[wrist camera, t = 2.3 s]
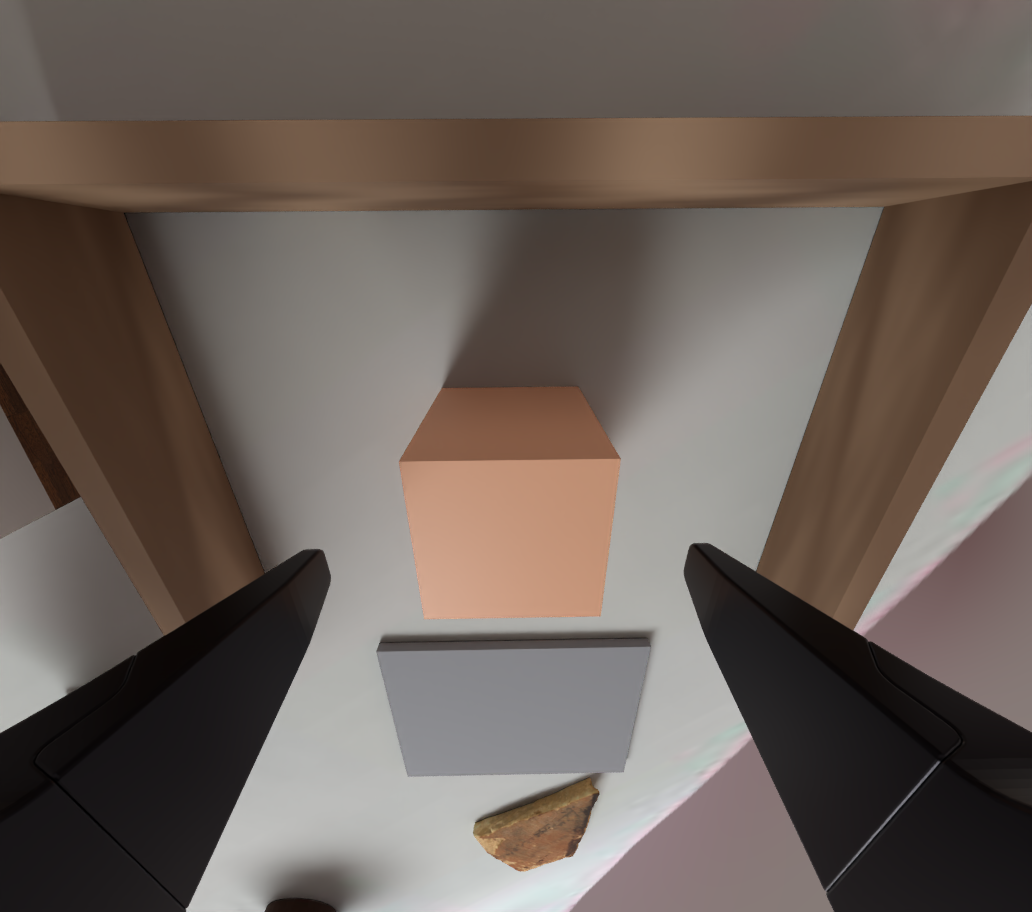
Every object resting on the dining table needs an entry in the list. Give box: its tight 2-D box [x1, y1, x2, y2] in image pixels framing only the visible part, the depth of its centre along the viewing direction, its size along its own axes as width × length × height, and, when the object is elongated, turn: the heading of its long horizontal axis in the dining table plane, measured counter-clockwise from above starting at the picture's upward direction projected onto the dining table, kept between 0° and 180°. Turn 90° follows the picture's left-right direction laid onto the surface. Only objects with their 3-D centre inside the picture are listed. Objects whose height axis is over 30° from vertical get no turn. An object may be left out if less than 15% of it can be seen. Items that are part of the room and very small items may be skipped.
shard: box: [473, 778, 599, 871], centre depth 28 cm, size 11×8×2 cm
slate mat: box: [376, 638, 651, 777], centre depth 22 cm, size 14×12×1 cm
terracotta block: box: [399, 387, 621, 619], centre depth 12 cm, size 5×5×6 cm
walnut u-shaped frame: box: [0, 116, 1032, 636], centre depth 13 cm, size 25×18×4 cm
